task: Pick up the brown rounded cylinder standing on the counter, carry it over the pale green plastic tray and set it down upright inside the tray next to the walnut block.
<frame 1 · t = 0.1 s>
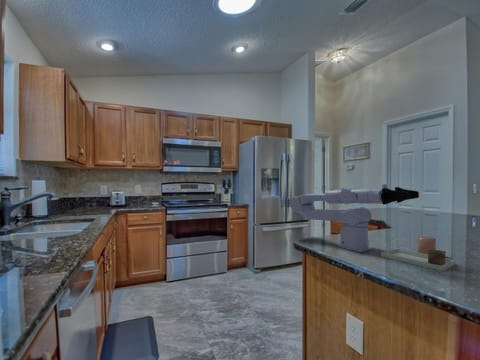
hand: (413, 195, 84), 21 cm above the countertop, tool horizontal, fingers open, 7 cm apart
brown rounded cylinder: (426, 255, 90), on the countertop
walnut block: (436, 264, 79), point 1 cm above the countertop, touching tray
tray: (416, 261, 83), on the countertop
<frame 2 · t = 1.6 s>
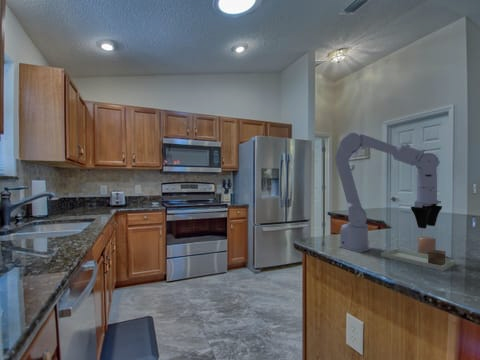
hand: (426, 226, 90), 10 cm above the countertop, tool pointing down, fingers open, 7 cm apart
nothing on the countertop moved.
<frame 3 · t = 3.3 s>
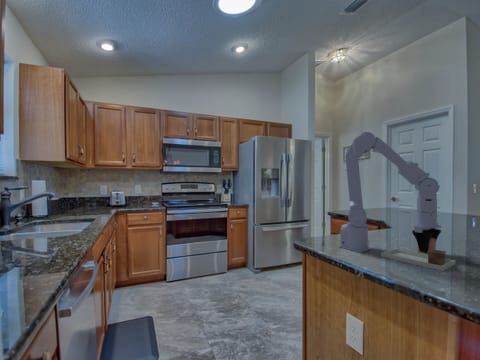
hand: (426, 250, 90), 2 cm above the countertop, tool pointing down, fingers closed on brown rounded cylinder, 5 cm apart
brown rounded cylinder: (426, 255, 90), on the countertop, touching gripper
everything else where it was.
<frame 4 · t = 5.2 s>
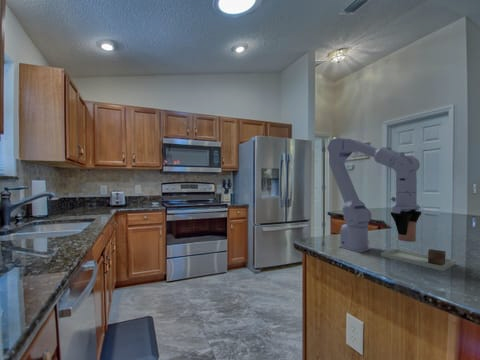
hand: (406, 233, 86), 9 cm above the countertop, tool pointing down, fingers closed on brown rounded cylinder, 5 cm apart
brown rounded cylinder: (406, 239, 85), point 7 cm above the countertop, touching gripper
everything else where it was.
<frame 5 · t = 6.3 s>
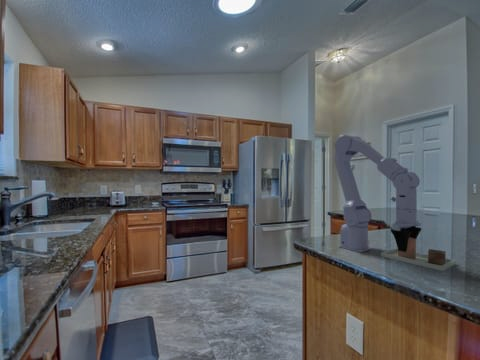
hand: (406, 249, 86), 3 cm above the countertop, tool pointing down, fingers closed on brown rounded cylinder, 5 cm apart
brown rounded cylinder: (406, 256, 85), point 1 cm above the countertop, touching gripper
everything else where it was.
when the fingers open (3 cm above the countertop, at t = 7.0 s): brown rounded cylinder stays where it is, resting on tray.
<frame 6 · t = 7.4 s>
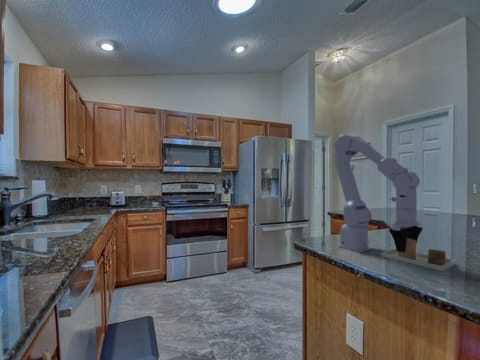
hand: (406, 249, 86), 3 cm above the countertop, tool pointing down, fingers open, 7 cm apart
brown rounded cylinder: (406, 257, 85), point 1 cm above the countertop, touching tray
everything else where it was.
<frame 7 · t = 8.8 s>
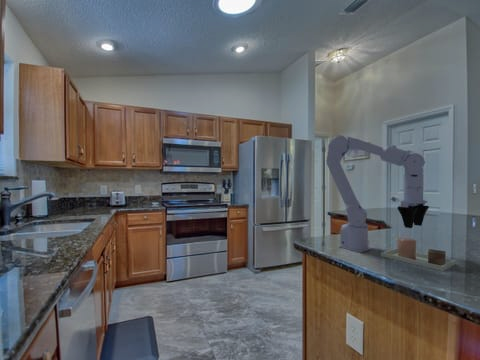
hand: (413, 226, 91), 10 cm above the countertop, tool pointing down, fingers open, 7 cm apart
nothing on the countertop moved.
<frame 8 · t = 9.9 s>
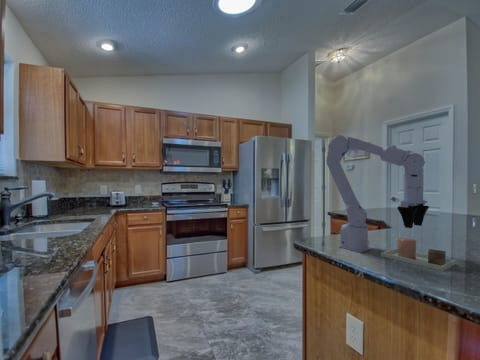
hand: (413, 226, 91), 10 cm above the countertop, tool pointing down, fingers open, 7 cm apart
nothing on the countertop moved.
at the end: brown rounded cylinder inside the target area on the tray (2.8 cm from its centre), point 0.6 cm above the tray's base; brown rounded cylinder tilted 0°; the gripper is holding nothing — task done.
